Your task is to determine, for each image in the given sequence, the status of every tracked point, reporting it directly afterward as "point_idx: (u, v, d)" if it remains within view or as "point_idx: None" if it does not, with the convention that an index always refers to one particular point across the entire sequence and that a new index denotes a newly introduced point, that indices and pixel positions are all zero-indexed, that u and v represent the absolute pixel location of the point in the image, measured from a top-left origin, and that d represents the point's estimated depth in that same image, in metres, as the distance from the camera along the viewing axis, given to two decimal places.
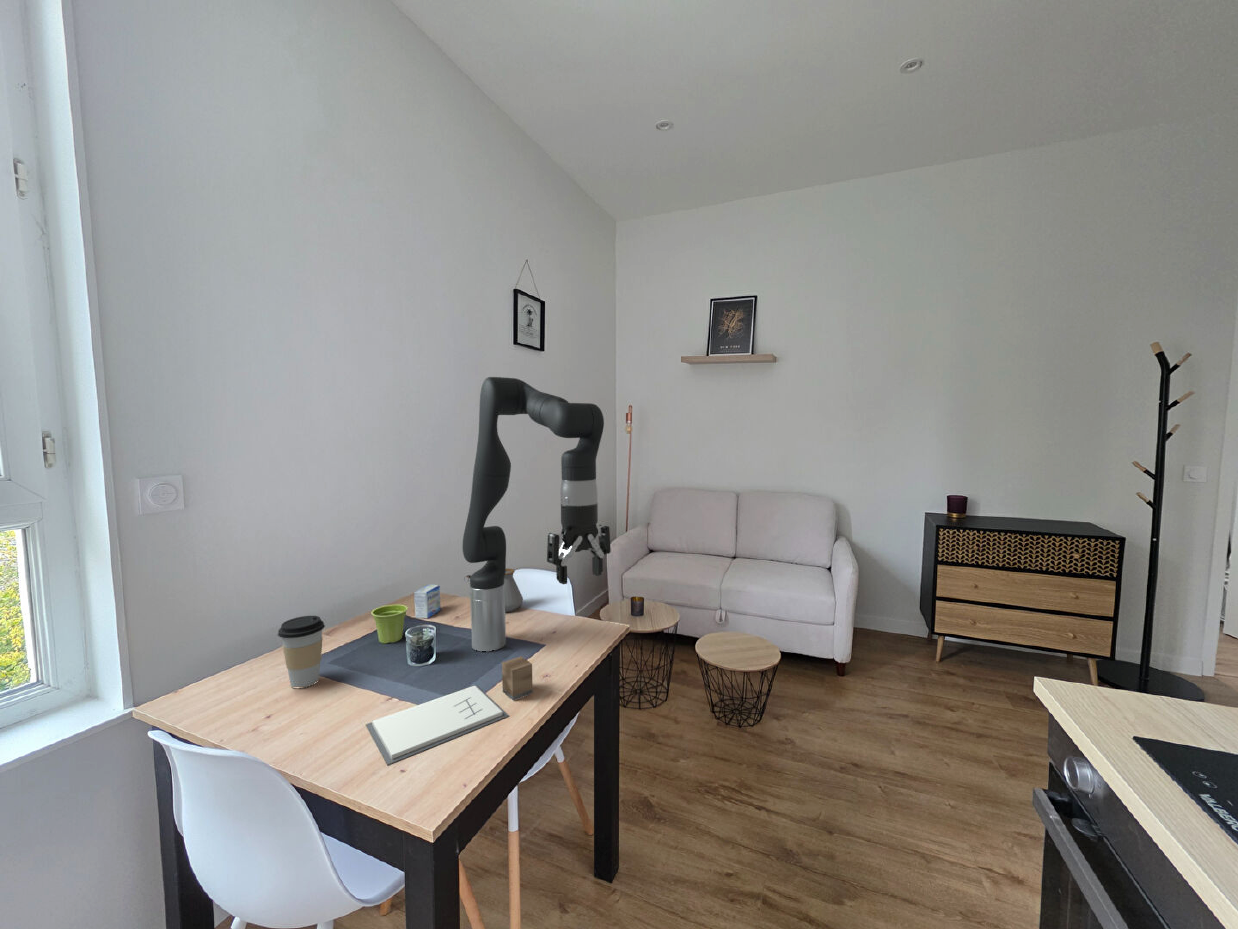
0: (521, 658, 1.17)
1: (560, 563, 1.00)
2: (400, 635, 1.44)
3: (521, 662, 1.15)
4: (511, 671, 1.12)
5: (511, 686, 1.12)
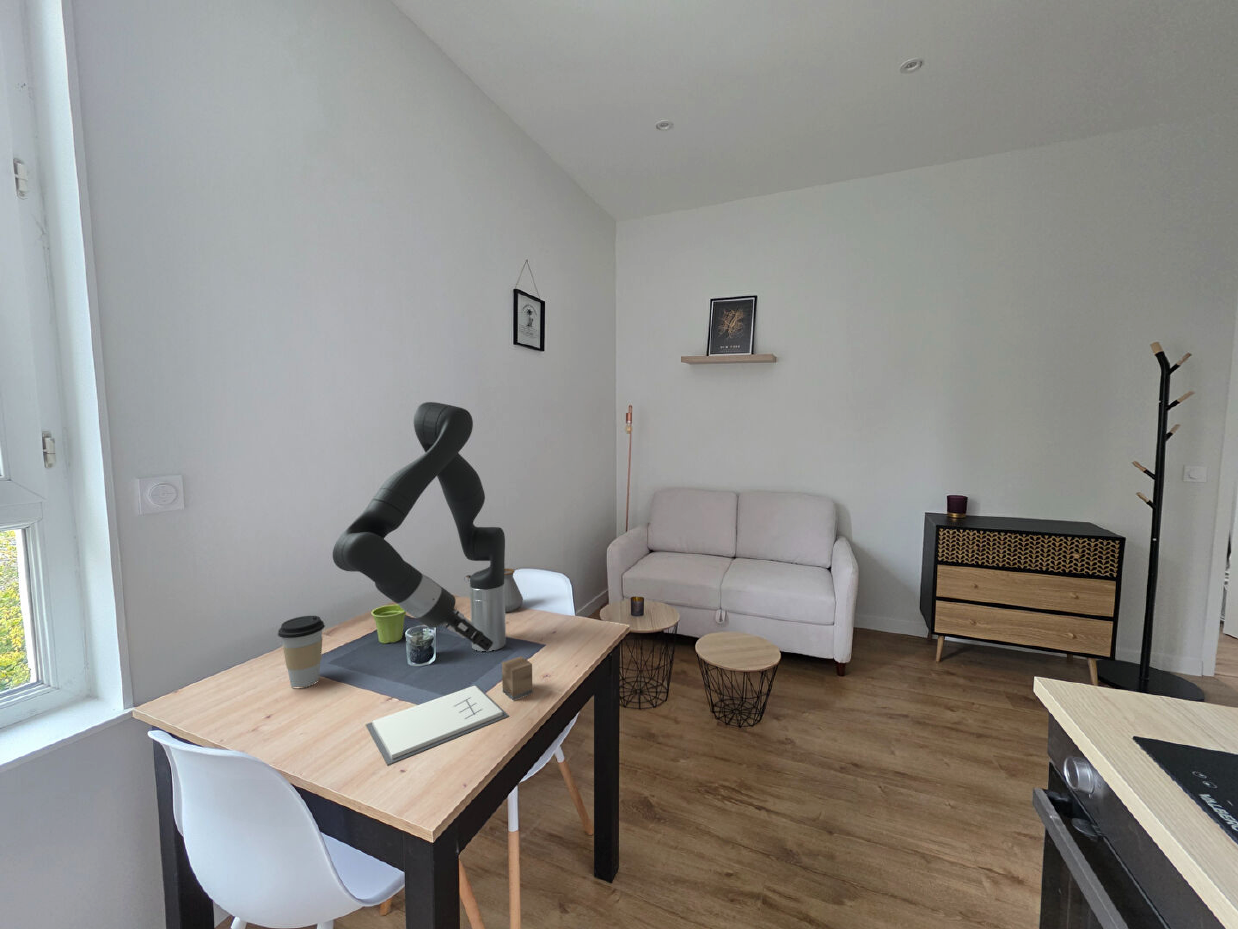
0: (521, 658, 1.17)
1: None
2: (400, 635, 1.44)
3: (521, 662, 1.15)
4: (511, 671, 1.12)
5: (511, 686, 1.12)
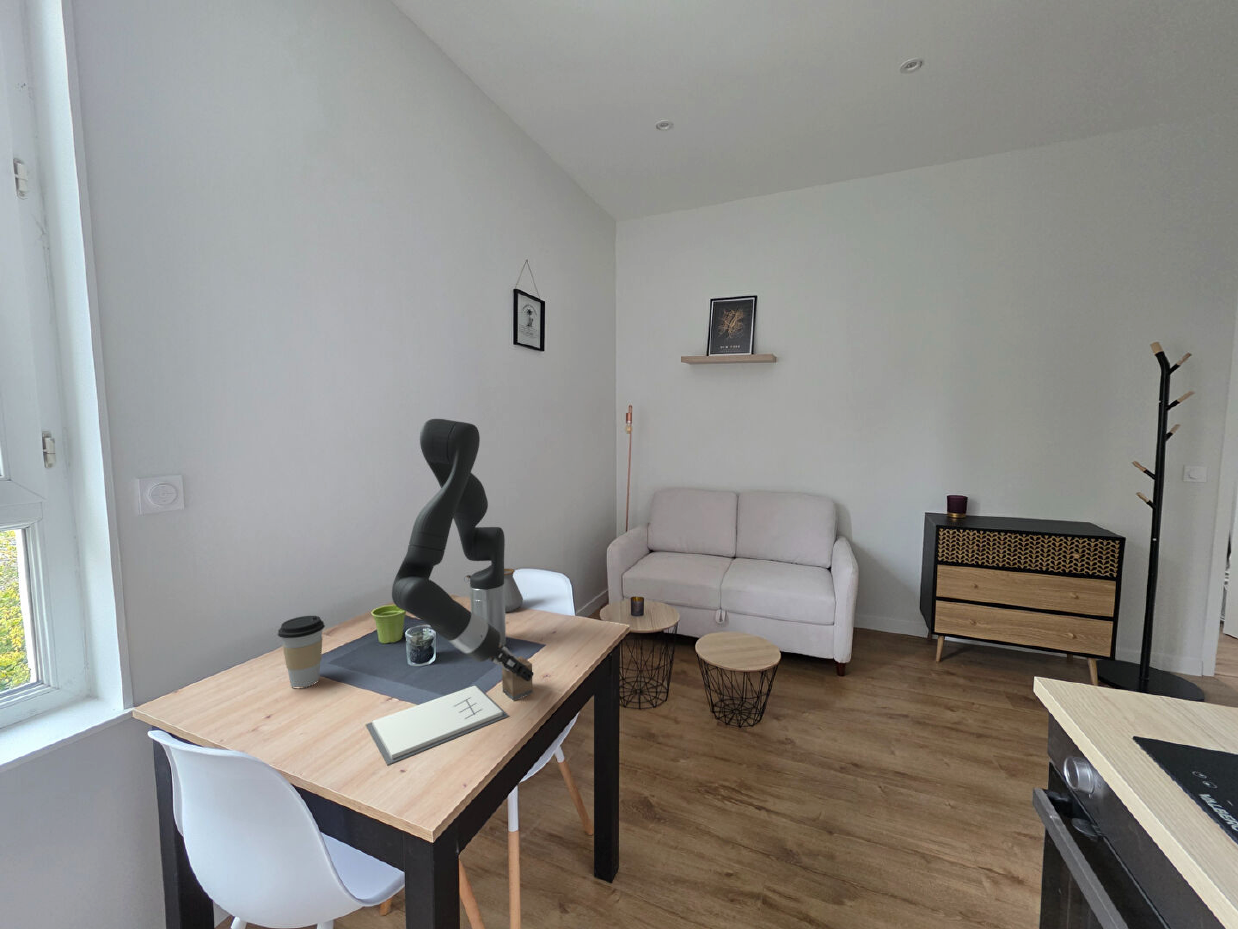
0: (521, 658, 1.17)
1: None
2: (400, 635, 1.44)
3: (521, 662, 1.15)
4: (511, 671, 1.12)
5: (511, 686, 1.12)
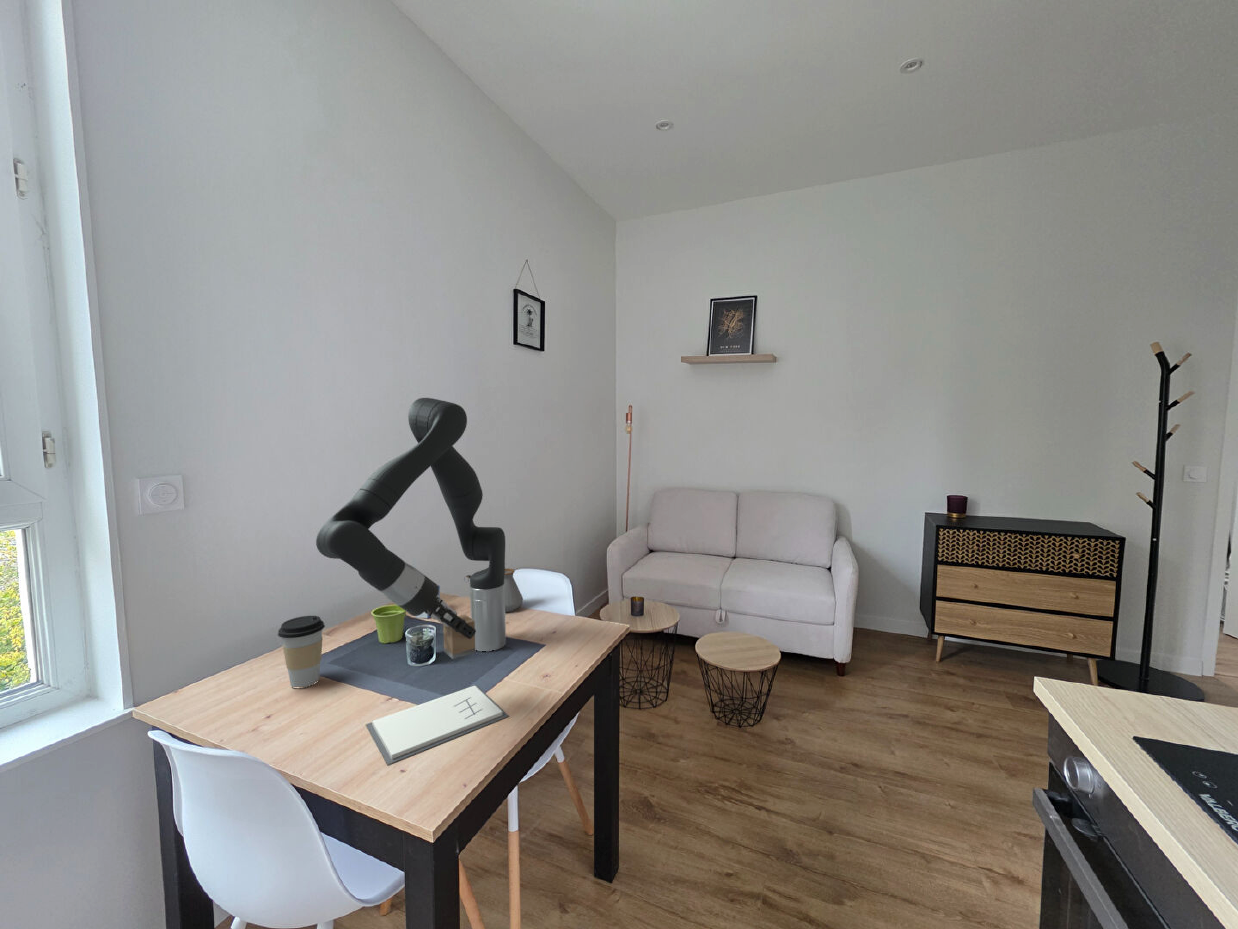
0: (464, 616, 1.11)
1: None
2: (400, 635, 1.44)
3: None
4: None
5: (451, 643, 1.06)
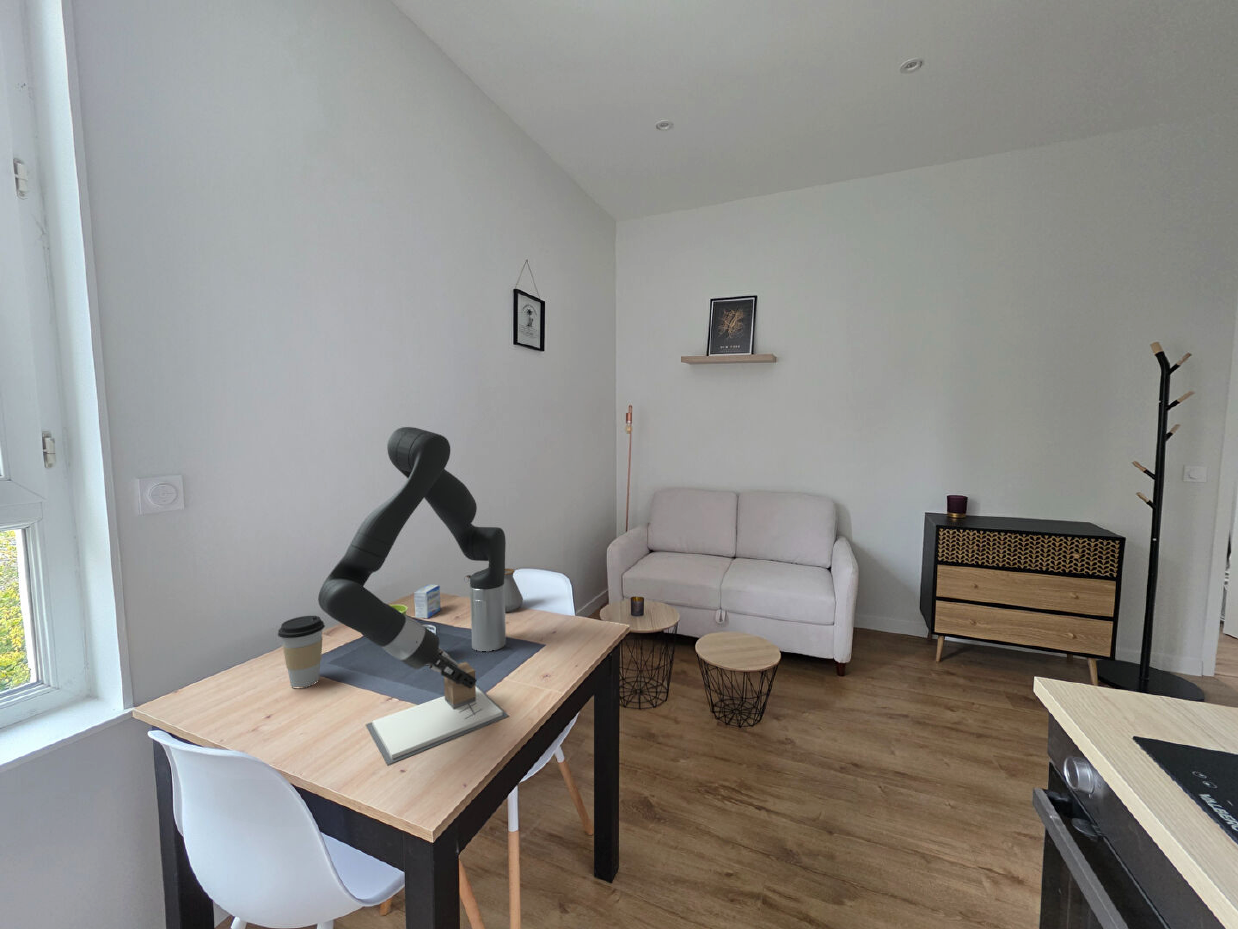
0: (465, 664, 1.12)
1: None
2: None
3: (464, 668, 1.10)
4: None
5: (452, 693, 1.07)
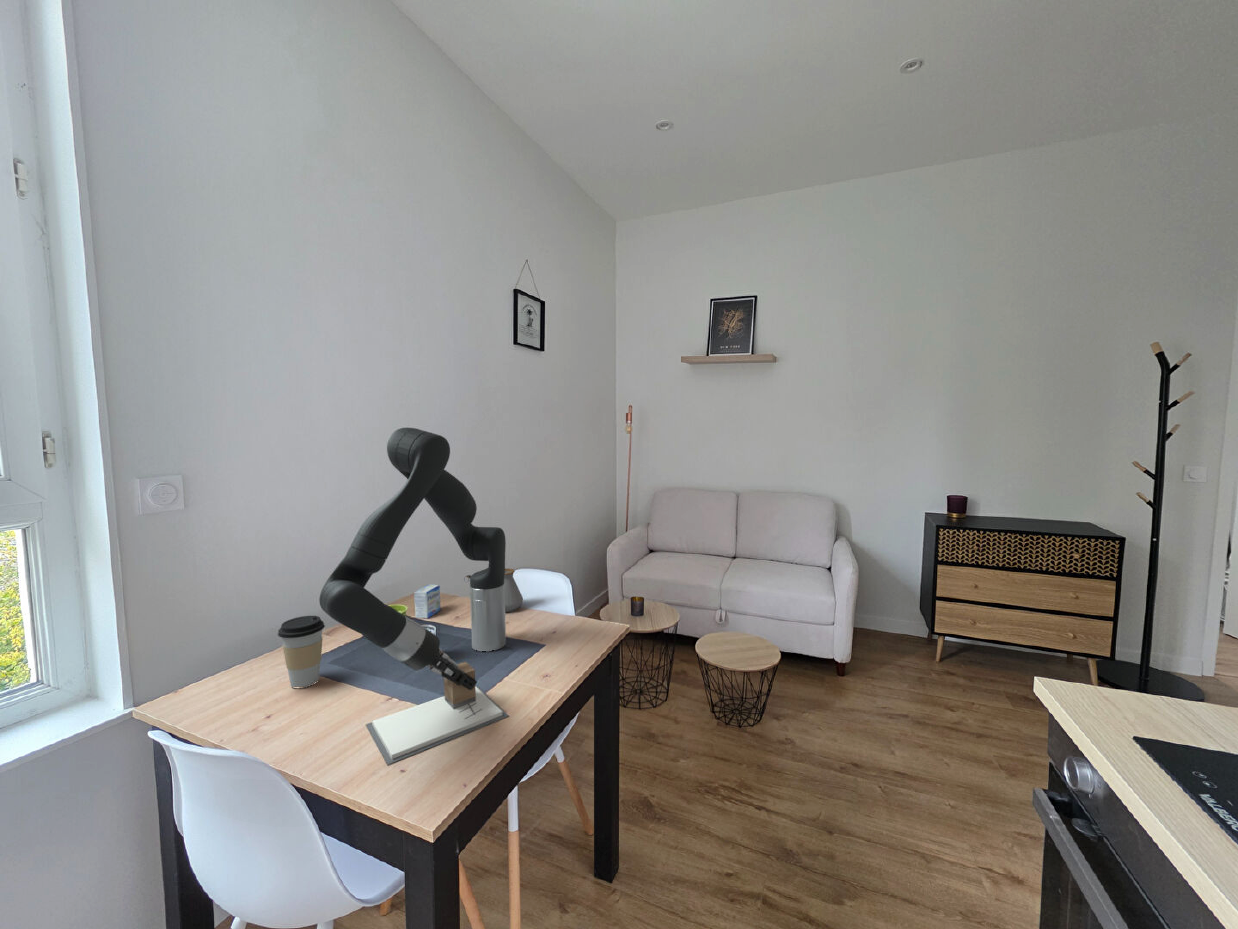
0: (465, 664, 1.12)
1: None
2: None
3: (463, 668, 1.10)
4: None
5: (452, 693, 1.07)
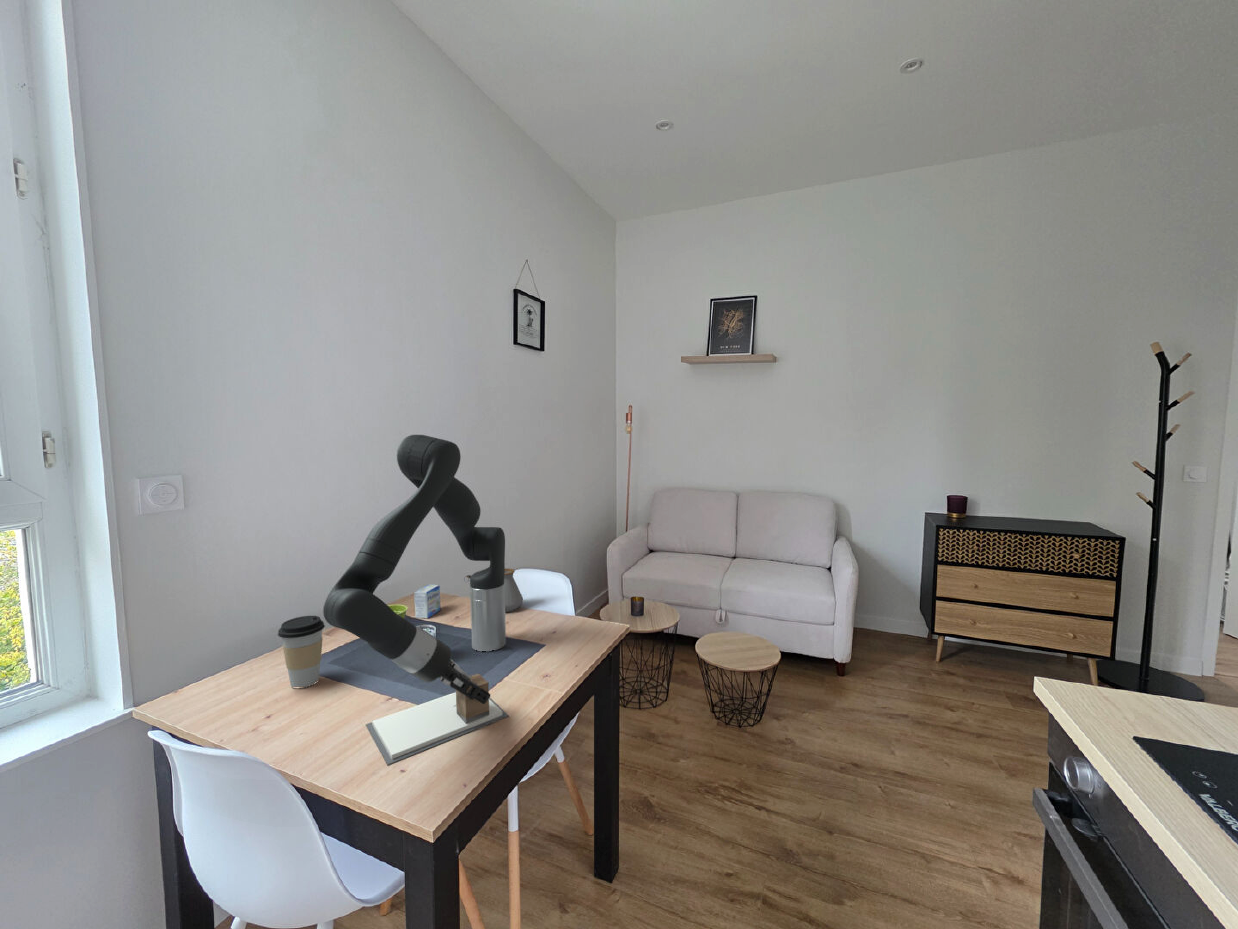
0: (477, 676, 1.07)
1: None
2: None
3: (476, 681, 1.05)
4: None
5: (465, 707, 1.01)
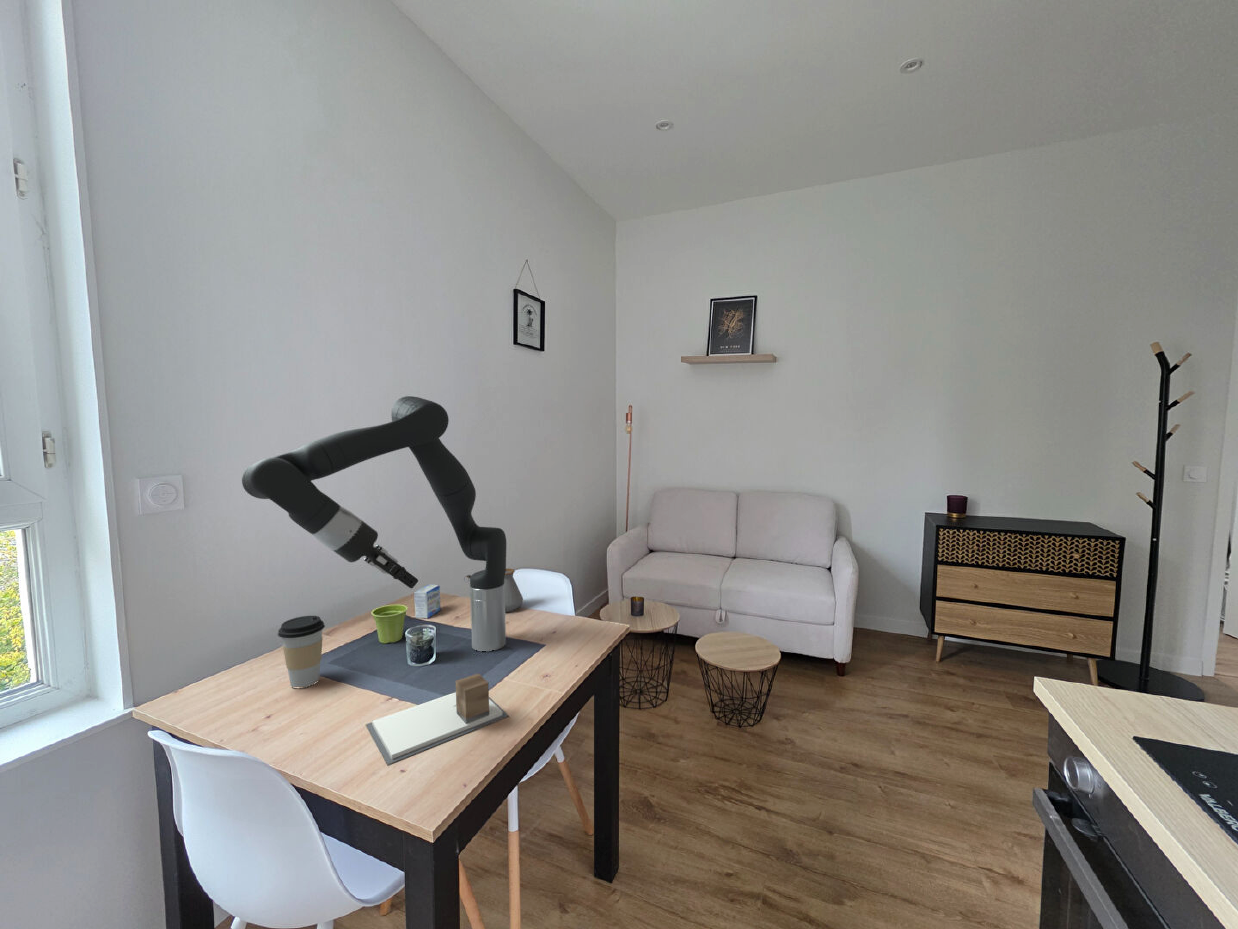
0: (477, 676, 1.07)
1: None
2: (400, 635, 1.44)
3: (476, 681, 1.05)
4: (464, 691, 1.01)
5: (465, 707, 1.01)
